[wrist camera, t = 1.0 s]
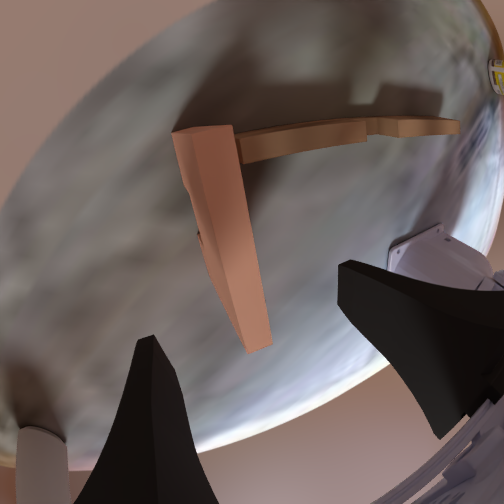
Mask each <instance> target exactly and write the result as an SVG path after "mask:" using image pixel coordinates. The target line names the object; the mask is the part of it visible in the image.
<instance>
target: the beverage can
mask: <svg viewBox="0 0 504 504" xmlns="http://www.w3.org/2000/svg"><path fill="white" fill-rule="evenodd" d="M16 498H17V504H71V497H70V487H69V475H68V456H67V446H66V445H65V444H64V443H63V442H62V440H61V439H60V438H59V437H58V436H57V435H55V434H53V433H51V432H49V431H47V430H45V429H42V428H38V427H33V426H27V427H25V428H22V429H20V430H19V431H18V440H17V453H16Z"/></svg>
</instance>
